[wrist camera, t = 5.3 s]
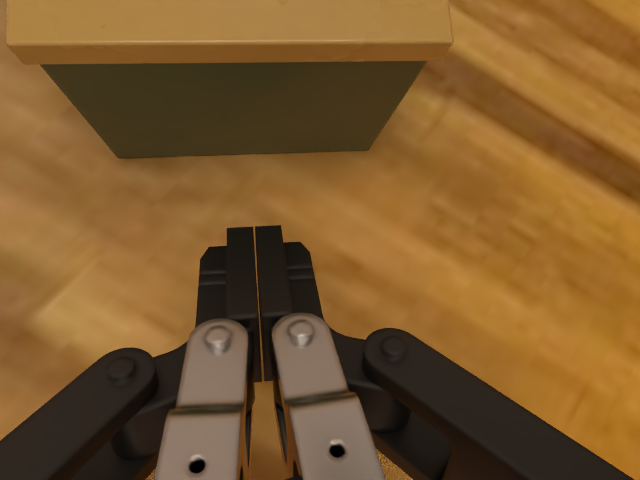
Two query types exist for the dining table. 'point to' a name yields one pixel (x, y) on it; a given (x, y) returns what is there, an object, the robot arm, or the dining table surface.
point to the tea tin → (231, 69)
